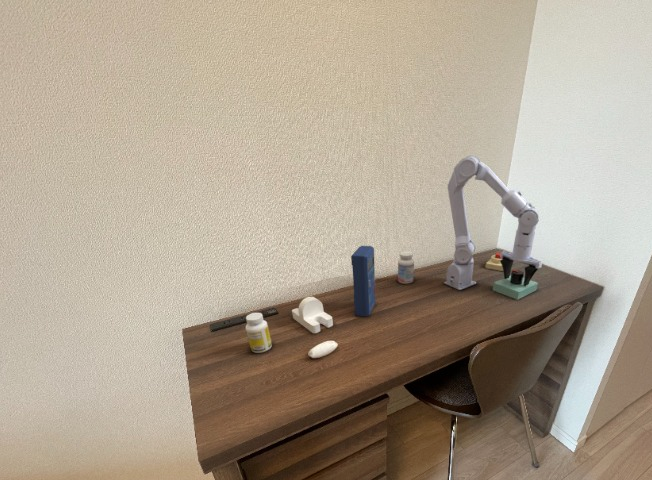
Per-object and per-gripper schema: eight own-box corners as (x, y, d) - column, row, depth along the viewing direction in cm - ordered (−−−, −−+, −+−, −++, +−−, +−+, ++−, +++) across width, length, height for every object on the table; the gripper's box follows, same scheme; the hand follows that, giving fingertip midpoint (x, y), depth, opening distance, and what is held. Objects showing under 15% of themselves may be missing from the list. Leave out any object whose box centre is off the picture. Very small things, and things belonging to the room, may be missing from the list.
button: (502, 260, 133) (503, 256, 132) (494, 258, 135) (494, 254, 134) (505, 257, 136) (505, 253, 135) (496, 256, 137) (497, 252, 136)
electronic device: (369, 317, 100) (367, 256, 91) (354, 315, 101) (350, 255, 92) (376, 303, 108) (374, 246, 99) (361, 302, 109) (358, 245, 100)
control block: (504, 271, 131) (506, 262, 129) (485, 268, 135) (486, 259, 133) (510, 264, 138) (512, 255, 137) (492, 260, 142) (493, 252, 141)
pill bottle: (395, 279, 125) (395, 252, 120) (408, 276, 128) (409, 249, 123) (402, 285, 120) (402, 257, 115) (416, 282, 123) (417, 254, 118)
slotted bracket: (334, 325, 96) (331, 302, 92) (314, 334, 92) (310, 310, 88) (311, 310, 104) (308, 288, 101) (292, 317, 100) (288, 295, 97)
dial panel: (517, 299, 109) (519, 291, 107) (492, 290, 116) (493, 282, 114) (536, 290, 115) (538, 282, 114) (511, 281, 122) (513, 273, 121)
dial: (524, 282, 114) (526, 271, 112) (517, 285, 111) (520, 274, 109) (514, 279, 116) (516, 268, 114) (507, 282, 114) (509, 271, 112)
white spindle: (307, 357, 82) (306, 348, 81) (333, 345, 87) (332, 336, 85) (313, 363, 80) (312, 353, 79) (340, 350, 85) (339, 341, 83)
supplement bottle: (264, 339, 90) (258, 309, 85) (276, 346, 86) (269, 315, 82) (247, 348, 86) (238, 317, 81) (258, 356, 83) (250, 323, 78)
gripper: (550, 247, 105) (541, 285, 111) (510, 237, 115) (504, 272, 121) (538, 251, 101) (530, 290, 107) (499, 241, 111) (493, 277, 117)
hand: (516, 281), depth 114 cm, fingers open, 7 cm apart
